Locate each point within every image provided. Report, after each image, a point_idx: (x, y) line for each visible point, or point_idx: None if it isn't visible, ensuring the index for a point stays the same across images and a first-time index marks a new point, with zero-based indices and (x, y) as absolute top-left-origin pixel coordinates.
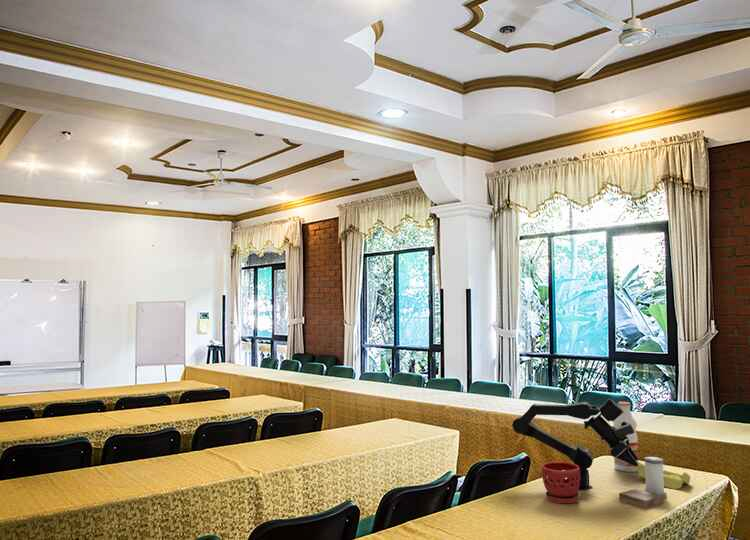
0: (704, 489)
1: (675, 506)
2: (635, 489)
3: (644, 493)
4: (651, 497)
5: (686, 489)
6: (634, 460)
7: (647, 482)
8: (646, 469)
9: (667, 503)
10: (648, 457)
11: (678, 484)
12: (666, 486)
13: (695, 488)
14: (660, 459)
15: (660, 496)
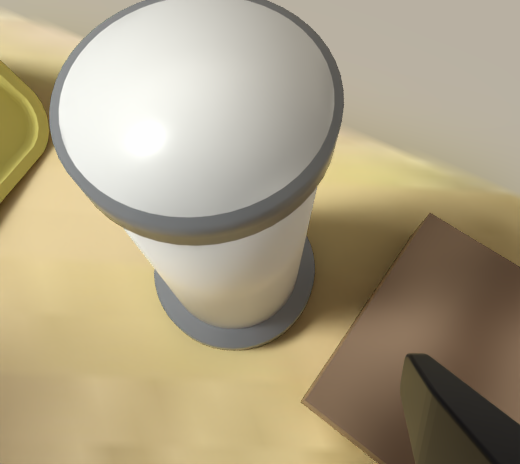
0: (16, 16)
1: (436, 169)
2: (337, 415)
3: (429, 340)
4: (518, 290)
5: (35, 92)
6: (505, 419)
7: (274, 295)
8: (265, 259)
9: (395, 208)
10: (111, 159)
11: (15, 110)
12: (10, 187)
13: (3, 51)
14: (202, 18)
15: (451, 227)
